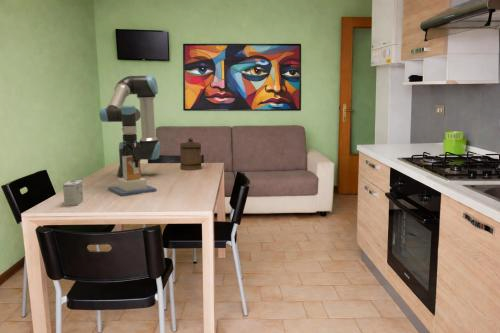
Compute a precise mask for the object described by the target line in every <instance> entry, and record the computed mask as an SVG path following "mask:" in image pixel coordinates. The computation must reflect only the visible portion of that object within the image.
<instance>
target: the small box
mask: <svg viewBox="0 0 500 333" xmlns="http://www.w3.org/2000/svg"><path fill="white" fill-rule="evenodd" d="M138 162H139V173H136V174H134V167H133V157H132V156H122V163H123V177H122V178H123V179H124V180H127V181H128V180H137V179H141V178H142V177H141V176H142V170H141V160H140V161H138ZM140 170H141V171H140Z"/></svg>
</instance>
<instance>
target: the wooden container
mask: <svg viewBox="0 0 500 333" xmlns="http://www.w3.org/2000/svg"><path fill="white" fill-rule="evenodd" d="M187 140H188V141H187V142H182V143H180V148H179V149H180V156H179V157H180V159H179V160H180V170H183V171H197V170H201V169H202V143H201V142H196V141H193V140H194V139H193V138H192V137H189V138H188V139H187Z"/></svg>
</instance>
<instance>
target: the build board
mask: <svg viewBox="0 0 500 333" xmlns="http://www.w3.org/2000/svg"><path fill="white" fill-rule="evenodd" d="M116 182H117V186H108V189H107V190H108V191H110V192H112V193H114V194H116V195H119V196H121V197H126V196H132V195H133V196H134V195H140V194H146V193H152V192H157V187H154V186H150V185H148V184H147V183H148V182H147V178H143V177H141V179H137V180H128V181H127V180H124V179H123V177H120V178H117V181H116Z"/></svg>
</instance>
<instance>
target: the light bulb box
mask: <svg viewBox="0 0 500 333" xmlns="http://www.w3.org/2000/svg"><path fill="white" fill-rule="evenodd" d="M62 187H63V188H62V191H63V203H64V206H67V207H68V206H69V207H70V206H79V204H81V203H82V202H83V201H84V192H83V180H82V179H77V180H75V179H74V180H70V179H69V180H68V181H67V182H65V183H64V184H62Z"/></svg>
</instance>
